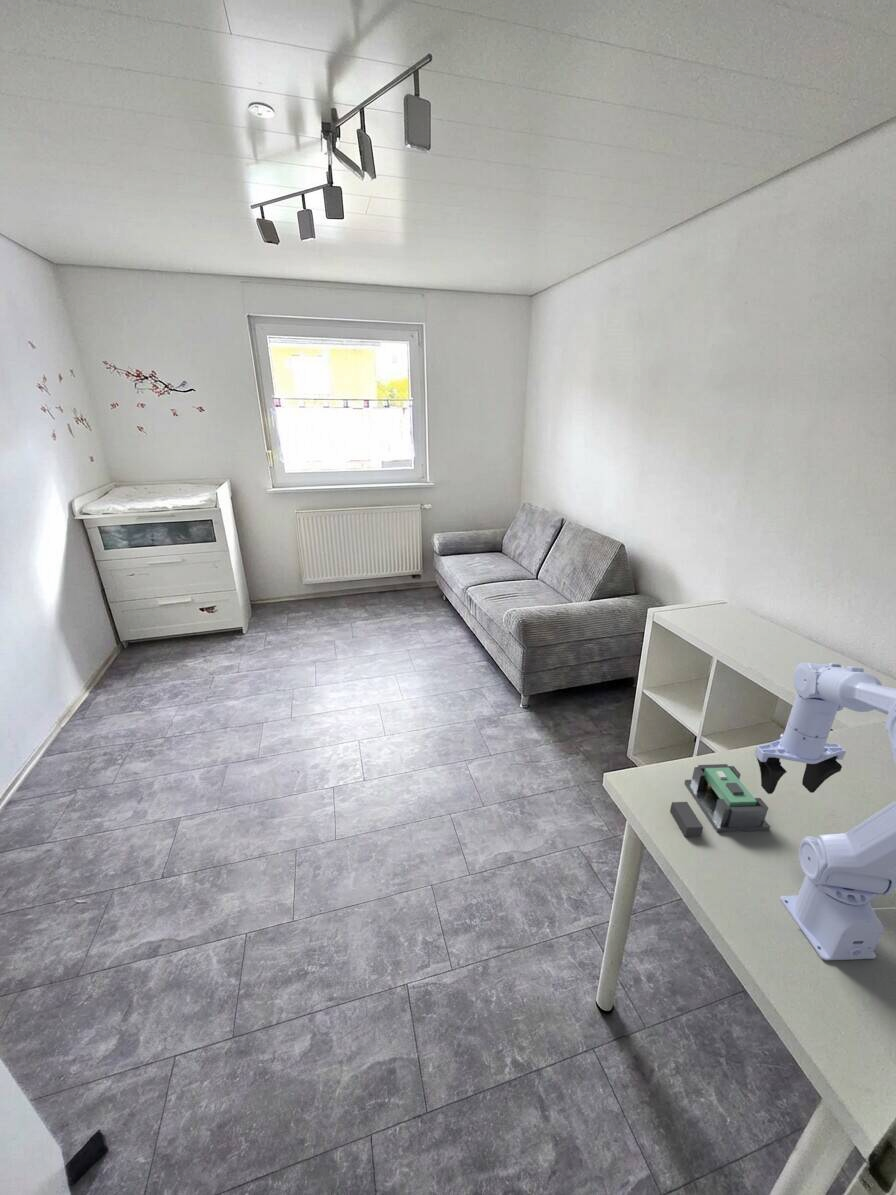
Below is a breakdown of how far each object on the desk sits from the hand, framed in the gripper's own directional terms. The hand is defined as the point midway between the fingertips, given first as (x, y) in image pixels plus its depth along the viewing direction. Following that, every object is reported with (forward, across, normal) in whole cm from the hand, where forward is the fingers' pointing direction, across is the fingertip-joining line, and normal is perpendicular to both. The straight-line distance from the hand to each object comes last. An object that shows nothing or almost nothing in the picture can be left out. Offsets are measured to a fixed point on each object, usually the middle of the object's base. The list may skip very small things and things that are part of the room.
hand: (787, 789), depth 86 cm
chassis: (+10, +6, -6) cm, 13 cm away
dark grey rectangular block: (+10, +16, -2) cm, 19 cm away
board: (+6, +6, -6) cm, 11 cm away
